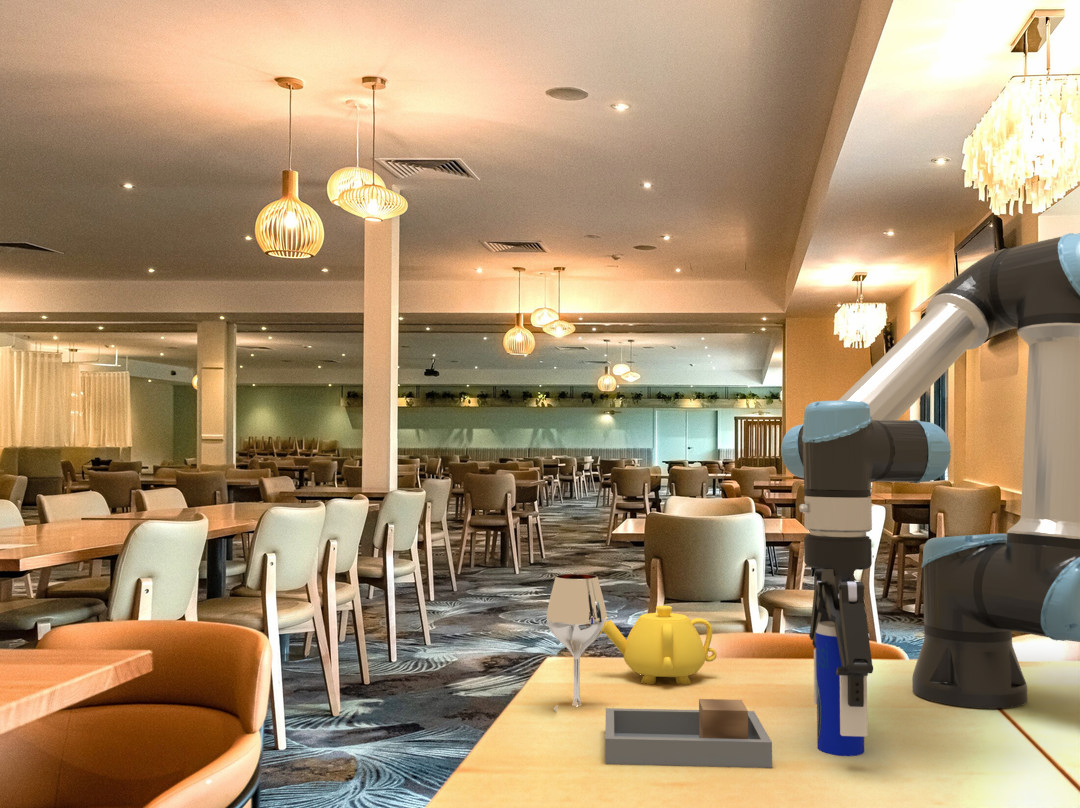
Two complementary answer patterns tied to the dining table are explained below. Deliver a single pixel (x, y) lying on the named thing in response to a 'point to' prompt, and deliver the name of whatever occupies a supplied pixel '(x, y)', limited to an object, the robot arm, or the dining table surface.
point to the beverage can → (831, 696)
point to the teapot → (663, 645)
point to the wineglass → (576, 617)
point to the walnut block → (723, 719)
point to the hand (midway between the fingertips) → (839, 719)
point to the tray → (679, 741)
